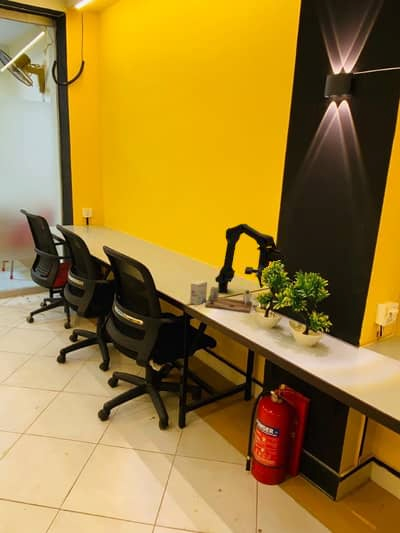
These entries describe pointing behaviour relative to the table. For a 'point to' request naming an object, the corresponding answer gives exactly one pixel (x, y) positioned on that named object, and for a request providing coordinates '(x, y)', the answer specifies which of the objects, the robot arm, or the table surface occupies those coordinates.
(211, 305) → the hole board
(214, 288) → the gauge fixed leg
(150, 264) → the table surface
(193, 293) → the ink box
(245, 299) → the gauge slider
